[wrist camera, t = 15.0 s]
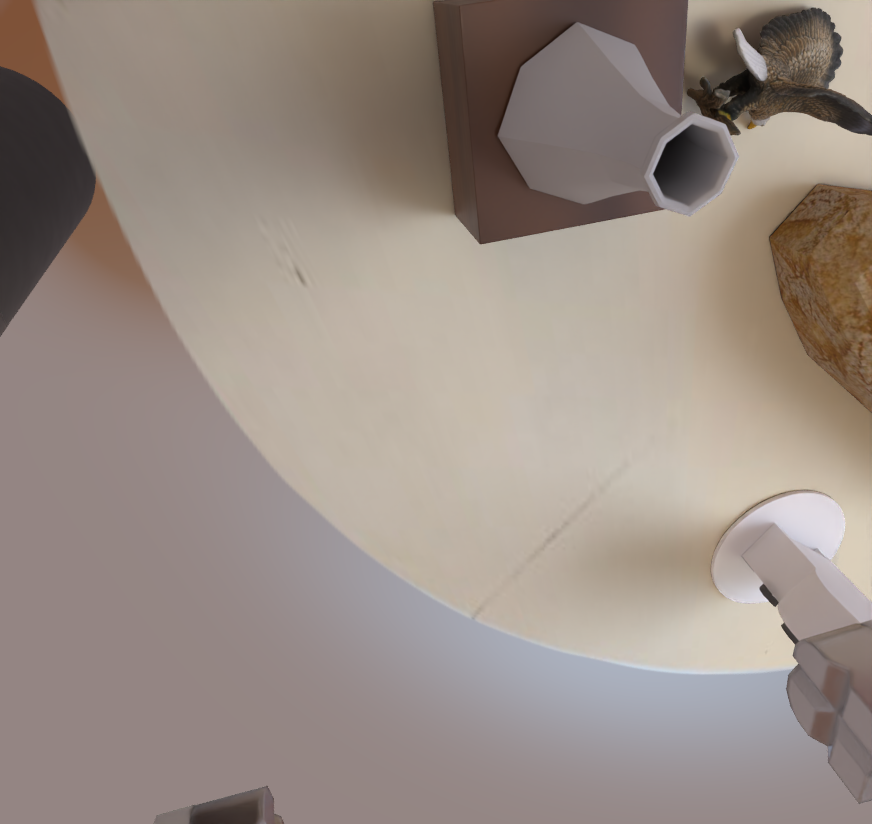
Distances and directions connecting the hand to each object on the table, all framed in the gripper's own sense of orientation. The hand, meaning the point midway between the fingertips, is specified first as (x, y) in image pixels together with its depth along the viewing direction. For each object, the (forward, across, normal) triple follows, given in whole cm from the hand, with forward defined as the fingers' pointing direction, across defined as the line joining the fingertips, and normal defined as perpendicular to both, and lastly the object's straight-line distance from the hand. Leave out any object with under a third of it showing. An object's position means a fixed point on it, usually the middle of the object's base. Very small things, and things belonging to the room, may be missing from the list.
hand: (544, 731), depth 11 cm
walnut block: (+31, -11, -3) cm, 33 cm away
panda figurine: (+31, -29, +33) cm, 54 cm away
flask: (+26, -11, -3) cm, 29 cm away
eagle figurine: (+31, -23, -2) cm, 39 cm away
